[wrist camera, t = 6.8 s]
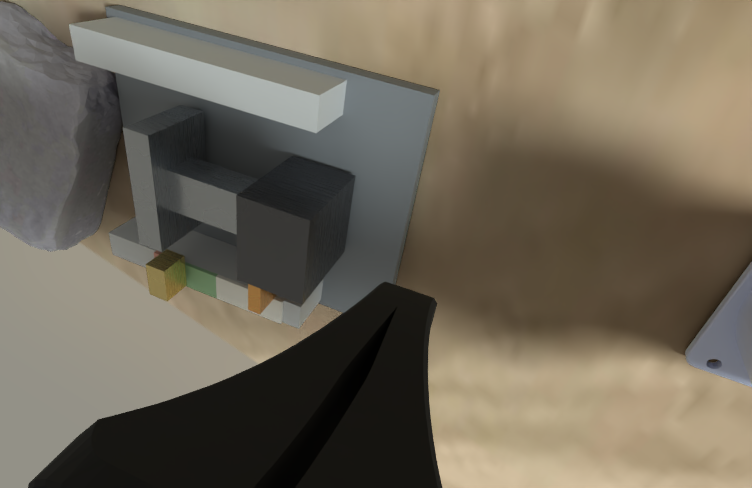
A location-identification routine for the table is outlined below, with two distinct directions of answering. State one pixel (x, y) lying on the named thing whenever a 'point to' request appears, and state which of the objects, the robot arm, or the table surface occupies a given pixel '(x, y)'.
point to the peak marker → (166, 274)
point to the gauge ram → (239, 206)
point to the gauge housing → (271, 141)
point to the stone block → (52, 135)
